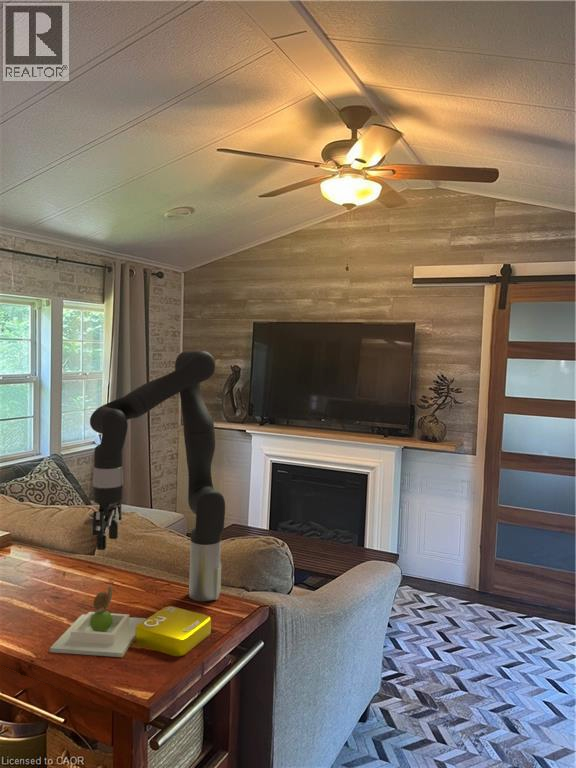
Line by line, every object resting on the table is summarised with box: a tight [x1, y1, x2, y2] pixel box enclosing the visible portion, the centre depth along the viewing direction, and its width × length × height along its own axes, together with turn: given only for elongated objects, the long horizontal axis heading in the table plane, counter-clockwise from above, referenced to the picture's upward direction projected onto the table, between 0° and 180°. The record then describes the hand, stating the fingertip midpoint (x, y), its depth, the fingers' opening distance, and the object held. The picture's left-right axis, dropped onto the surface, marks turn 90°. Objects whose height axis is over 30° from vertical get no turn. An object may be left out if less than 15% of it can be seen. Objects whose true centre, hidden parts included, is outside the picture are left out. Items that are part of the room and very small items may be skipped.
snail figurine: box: [90, 580, 114, 632], centre depth 142 cm, size 5×6×12 cm
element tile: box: [134, 605, 212, 657], centre depth 142 cm, size 15×15×5 cm
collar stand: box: [49, 611, 147, 658], centre depth 141 cm, size 18×18×4 cm
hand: (107, 543), depth 145 cm, fingers open, 8 cm apart
